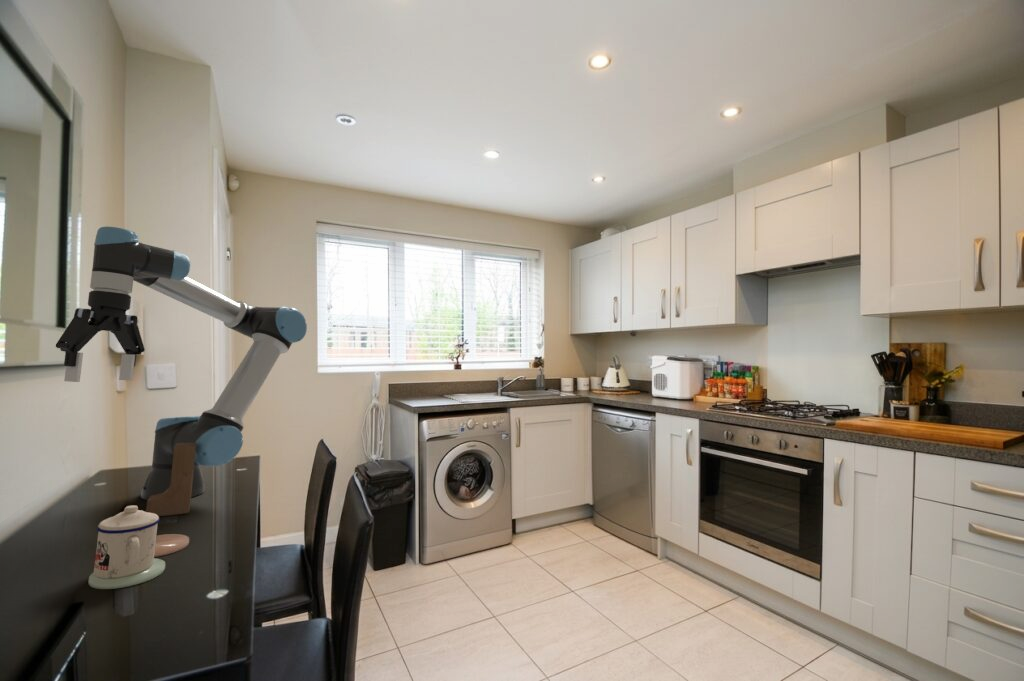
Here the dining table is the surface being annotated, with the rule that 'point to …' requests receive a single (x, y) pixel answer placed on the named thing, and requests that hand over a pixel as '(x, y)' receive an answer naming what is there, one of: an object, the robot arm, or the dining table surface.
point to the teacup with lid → (125, 543)
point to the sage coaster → (128, 577)
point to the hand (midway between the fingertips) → (100, 381)
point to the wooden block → (176, 484)
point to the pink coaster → (170, 544)
